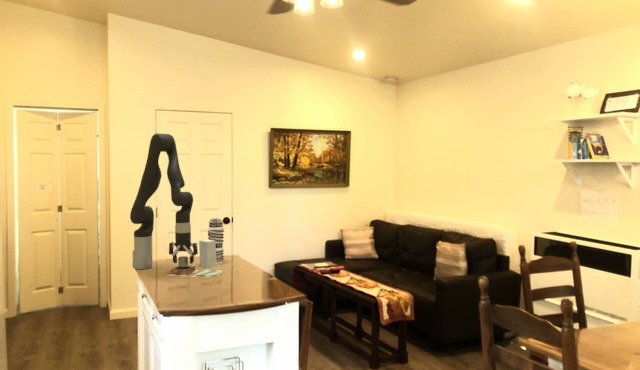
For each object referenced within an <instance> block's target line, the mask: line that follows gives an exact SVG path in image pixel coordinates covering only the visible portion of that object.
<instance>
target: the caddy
mask: <svg viewBox="0 0 640 370" xmlns="http://www.w3.org/2000/svg"><path fill="white" fill-rule="evenodd" d="M223 274H224V270H223V269H196V266H195V265H188V269H179V265H177V266H175V267H174V268H171V269H170V273H169V274H168V273H167V274H166V275H165V276H166V277H167V276H168V277H169V276H170V277H190V278H191V277H194V278H195V277H196V278H214V280H215V279H217V278H219V277H220V276H222V275H223Z"/></svg>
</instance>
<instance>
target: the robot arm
mask: <svg viewBox="0 0 640 370" xmlns="http://www.w3.org/2000/svg"><path fill="white" fill-rule="evenodd" d="M162 152H164V153H166V155H167V157H168V164H167V168H166V169H167V170H166V175H167V179H168V182H169V185H170V198H171V202H172V203H173V205H174V206H175V207H181V208H180V209H179V210H177V211H176V212H175V226H174V227H175V228H174V232H175V233H174V235H175V236H174V237H175V242H174V241H172V242H170V243H169V245H168V254H169V255H171V256H172V262H173V264H177V263H178V255H177V254H178V253H179V252H184V253H185V252H186V253H187V254H188V255H189V263H190V265H191V264H193V263H194V262H195V256H197V255H198V253H199V251H198V243H197V242H192V237H191V236H192V229H191V228H192V227H191V212H192V207H193V204H194V197H193V194H192V193H191V192H189V191H182V190H181V189H182V188H184V187H185V186H186V184H185V180H184V176H183V174H182V171H181V168H180V163H179V162H180V161H179V158H178V157H179V155H178V150H177V145H176V141H175V137H174V136H173V135H172V134H169V133H154V134H153V135H152V136H151V139H150V142H149V148H148V153H147V158H146V162H145V166H144V169H143V170H144V171H143V173H142V176H141V180H140V185H139V187H138V191H137V195H136V198H135V200H134V202H133V204H132V207H131V211H130V215H129V216H130V217H129V218H130V222H131V223H132V224H134V225H140V227H139V228H137V229H135V230H134V231H133V250H132V269H135V270H146V269H147V270H148V269H151V268H153V232H154V224H155V223H154V222H155V221H154V220H155V213H154V209H153V208H152V206H149V205H147V203H148V201H149V199H151V197H152V196H153V195H154V194H155V193H156V191H157V190H158V189H159V187H160V184H161V181H162V170H161V167H160V164H159V160H160V159H159V158H160V155H161V153H162ZM174 247H175V249H174ZM191 247H192V248H191Z"/></svg>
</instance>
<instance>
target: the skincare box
mask: <svg viewBox="0 0 640 370" xmlns="http://www.w3.org/2000/svg"><path fill="white" fill-rule="evenodd" d="M198 246H199V266H201V267H204V268H213V267H217V265H218V264H216V244H215V240H209V239H208V238H207V239H201V240H198Z"/></svg>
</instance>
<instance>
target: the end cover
mask: <svg viewBox="0 0 640 370" xmlns="http://www.w3.org/2000/svg"><path fill="white" fill-rule="evenodd" d="M178 266H179V269H188V266H189V257H188V256H185V255H183V256H182V255H181V256H178Z"/></svg>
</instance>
